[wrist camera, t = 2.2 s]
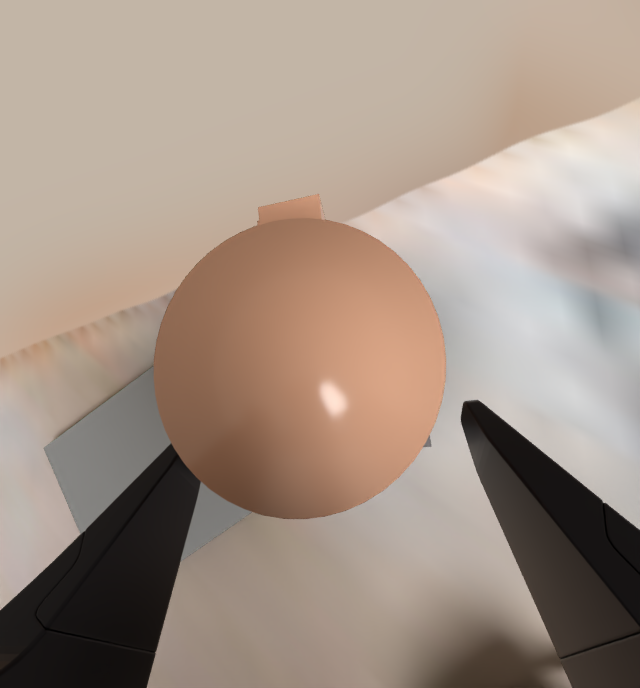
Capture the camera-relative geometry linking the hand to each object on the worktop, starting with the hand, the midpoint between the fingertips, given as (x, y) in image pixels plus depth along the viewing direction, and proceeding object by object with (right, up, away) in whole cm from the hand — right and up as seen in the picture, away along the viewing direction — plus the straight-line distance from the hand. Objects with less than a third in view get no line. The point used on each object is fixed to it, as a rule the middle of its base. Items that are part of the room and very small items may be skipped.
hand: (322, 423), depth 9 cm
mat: (-12, -6, +11) cm, 17 cm away
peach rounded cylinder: (+1, +1, +10) cm, 10 cm away
